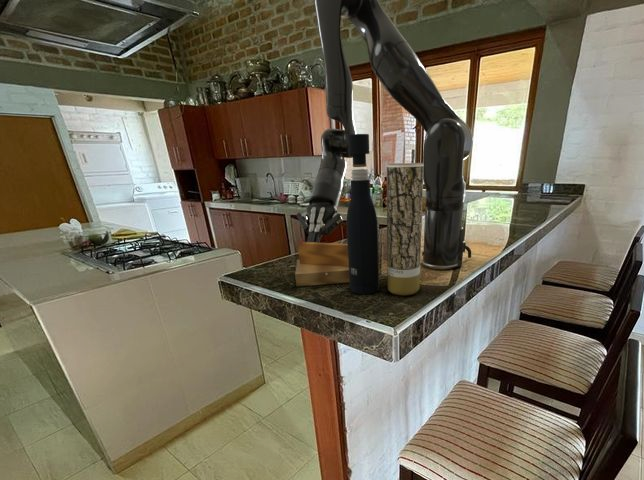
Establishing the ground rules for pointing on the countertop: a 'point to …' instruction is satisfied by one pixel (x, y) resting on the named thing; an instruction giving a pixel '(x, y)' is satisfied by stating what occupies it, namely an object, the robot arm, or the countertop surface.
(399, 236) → the paper tube
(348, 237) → the black water bottle
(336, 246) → the tan wooden flat block
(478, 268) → the countertop surface
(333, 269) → the wooden box
